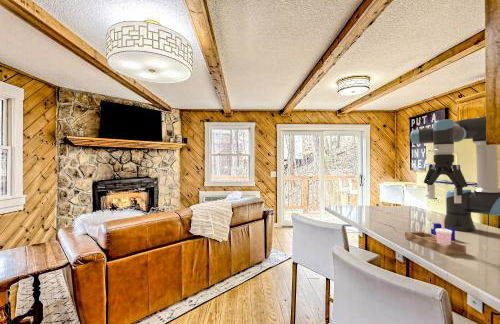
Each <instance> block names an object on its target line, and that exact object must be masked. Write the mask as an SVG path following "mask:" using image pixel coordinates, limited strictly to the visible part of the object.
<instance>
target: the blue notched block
mask: <svg viewBox="0 0 500 324" xmlns="http://www.w3.org/2000/svg"><path fill="white" fill-rule="evenodd" d="M437 228H441V229H443V226H442V223H439V222H438V223H437V222H436V223H435V222H433V228H431V229H430V234H432V235H436V230H435V229H437ZM446 229H448V230H451V231H452V233H451V241H456V230H455V229H454V228H446ZM436 236H437V235H436Z"/></svg>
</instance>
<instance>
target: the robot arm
mask: <svg viewBox="0 0 500 324" xmlns="http://www.w3.org/2000/svg"><path fill="white" fill-rule="evenodd" d="M486 117H487V116H481V117H473V118H464V119H460V120H456V121H454V120H453V119H450V118H449V119H448V118H447V119H439V120H435V121H434V122H433V125H432V127H428V128H418V129H413V130H412V131H411V132H410V135H409V137H410V138H409V139H410V142H411V143H412V144H414V145H415V144H416V145H420V144H421V145H423V144H433V163H434V164H429V165H428V170H427V172H426V175H425V178H424V180H423V183H424V184H426V186H427V192H428V200H431V199H433V200H434V199H436V192H435V191H436V185H435V182H436V181H437V180H438V179H439V177H440V176H441V175H442V176H443V175H445V176H447V177H448V178H449V180H450V181H451V182H452V183H453V185H454V187H453V189H451V190H447V191H446V196H445V203H446V204H445V205H446V206H445V209H446V210H445V211H446V214H445V216H444V218H443V219H444V229H447V228H454V229H455V231H460V232H475V231H476V225H475V224H474V221H473V218H472V213H475V214H481V215H490V216H500V188H499V168H498V166H499V161H498V157H499V156H498V144H497V145H486ZM463 140H472V143H473V144H474V145H476V146H475V147H476V150H475V151H476V153H475V154H476V176H477V177H476V181H477V182H476V183H477V186H476V188H475V189H474V190H473V192H472V190H471V189H464V188H467V187H468V184H467V183H468V182H467V181H466V179H465V177H464V174H463V172H462V170H461V165H460V164H453V163H455V155H454V153H455V143H458V142H461V141H463Z"/></svg>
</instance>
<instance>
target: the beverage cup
mask: <svg viewBox="0 0 500 324" xmlns="http://www.w3.org/2000/svg"><path fill="white" fill-rule="evenodd" d="M444 219H445V218H443V219H442V229H441V228H437V229H435V230H436V235H437V243H439V244H442V245H451V241H452V240H451V233H452V231H451V230H448V229H447V228H445V227H444Z"/></svg>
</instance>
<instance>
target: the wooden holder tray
mask: <svg viewBox="0 0 500 324" xmlns="http://www.w3.org/2000/svg"><path fill="white" fill-rule="evenodd" d="M404 239H405V240H406V241H409V242H412V243H414V244H417V245H419V246H422V247H425V248H427V249H429V250H432V251H434V252H437V253H440V254H442V255H444V256H449V255H450V256H452V255H466V254H467V245H465V244H462V243H459V242H456V241H454V240H451V245H442V244H439V243H437V236H435V235H433V234H431V233H428V232H426V231H405V232H404Z"/></svg>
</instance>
